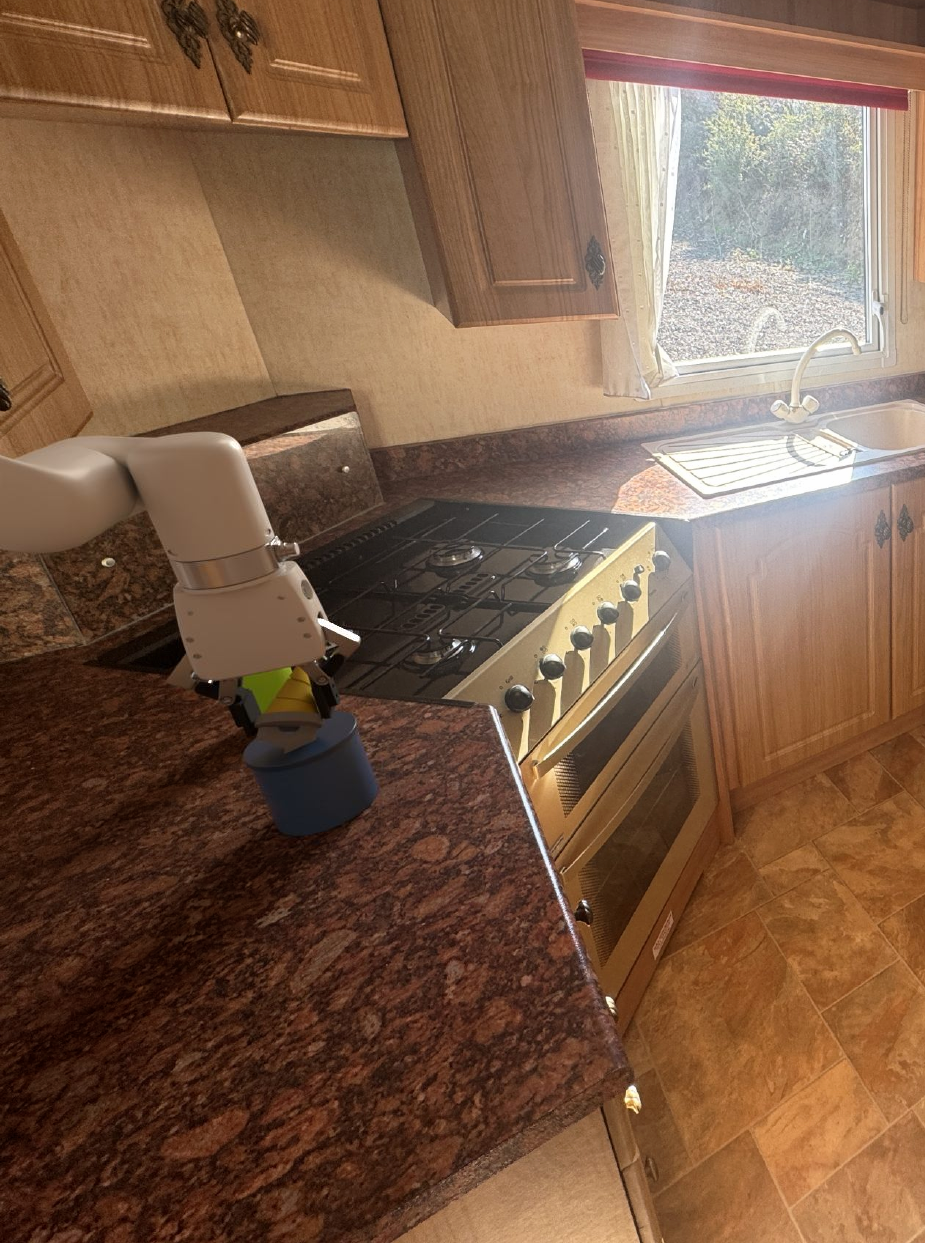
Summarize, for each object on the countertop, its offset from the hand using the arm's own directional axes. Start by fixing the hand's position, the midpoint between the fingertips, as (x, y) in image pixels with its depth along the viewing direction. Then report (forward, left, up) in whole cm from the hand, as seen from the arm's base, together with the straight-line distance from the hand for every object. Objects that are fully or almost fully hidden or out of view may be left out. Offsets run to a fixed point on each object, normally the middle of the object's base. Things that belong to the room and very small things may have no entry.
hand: (293, 719), depth 77 cm
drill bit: (0, 0, -2) cm, 2 cm away
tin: (0, 0, -12) cm, 12 cm away
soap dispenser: (-8, +22, -12) cm, 26 cm away
